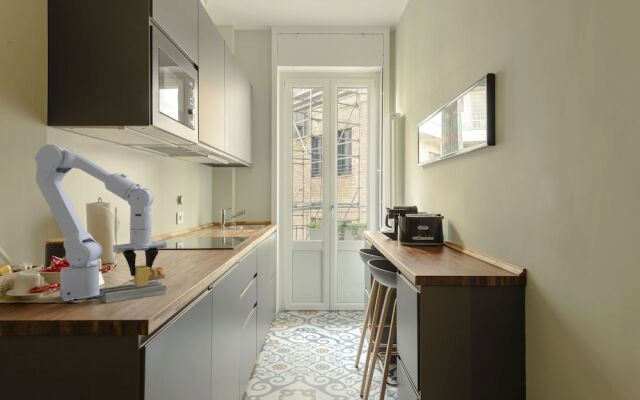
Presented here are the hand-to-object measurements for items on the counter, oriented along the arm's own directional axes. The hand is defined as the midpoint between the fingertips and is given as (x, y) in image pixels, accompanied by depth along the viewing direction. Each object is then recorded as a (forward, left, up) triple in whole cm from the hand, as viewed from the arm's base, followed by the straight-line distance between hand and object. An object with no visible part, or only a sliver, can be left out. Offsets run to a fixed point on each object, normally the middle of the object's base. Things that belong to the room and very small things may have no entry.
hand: (140, 274), depth 112 cm
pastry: (+10, +21, -6) cm, 24 cm away
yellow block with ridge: (0, 0, -3) cm, 3 cm away
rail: (-2, 0, -6) cm, 6 cm away
